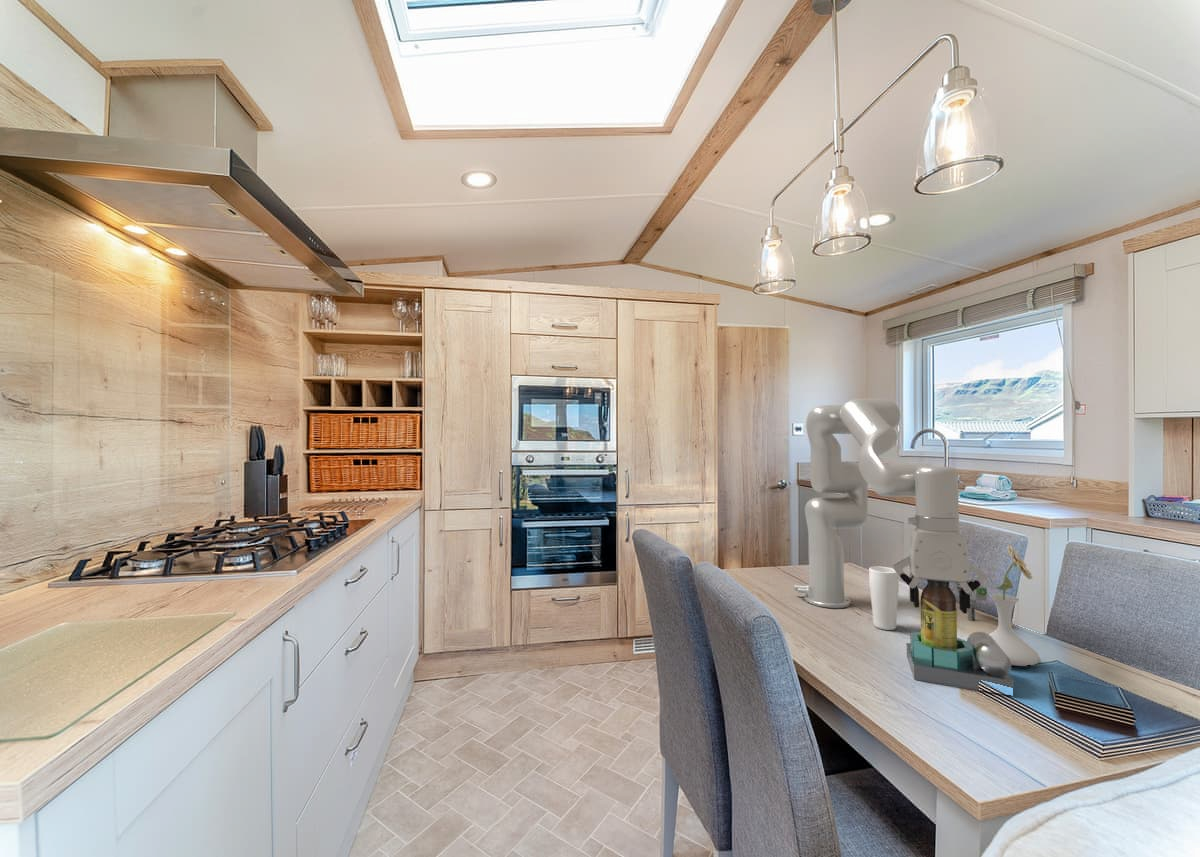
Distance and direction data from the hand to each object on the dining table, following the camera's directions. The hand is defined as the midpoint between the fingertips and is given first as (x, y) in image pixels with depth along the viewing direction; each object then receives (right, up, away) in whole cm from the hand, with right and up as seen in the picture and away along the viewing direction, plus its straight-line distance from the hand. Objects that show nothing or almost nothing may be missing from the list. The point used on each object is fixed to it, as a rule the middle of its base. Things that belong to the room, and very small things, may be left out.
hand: (939, 608), depth 103 cm
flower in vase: (+19, -14, +6) cm, 24 cm away
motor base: (+2, -13, -2) cm, 14 cm away
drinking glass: (+3, -14, +25) cm, 29 cm away
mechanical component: (+29, -14, +30) cm, 44 cm away
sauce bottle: (0, -11, 0) cm, 11 cm away
